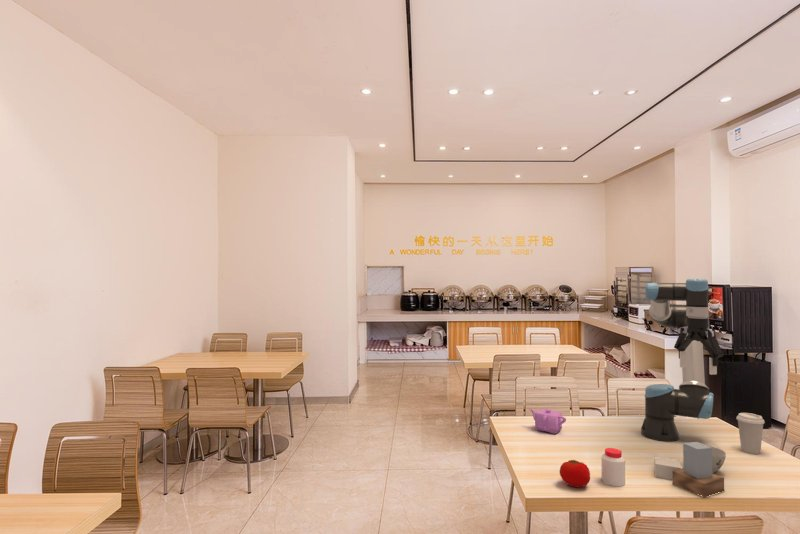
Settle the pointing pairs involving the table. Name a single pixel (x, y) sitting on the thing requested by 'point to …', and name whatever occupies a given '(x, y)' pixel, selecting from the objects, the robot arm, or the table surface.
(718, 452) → the teacup
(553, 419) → the teapot
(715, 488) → the walnut block
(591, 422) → the table surface
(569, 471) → the tomato
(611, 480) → the pill bottle
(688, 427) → the table surface
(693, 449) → the slate block
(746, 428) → the coffee cup
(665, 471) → the grey block
